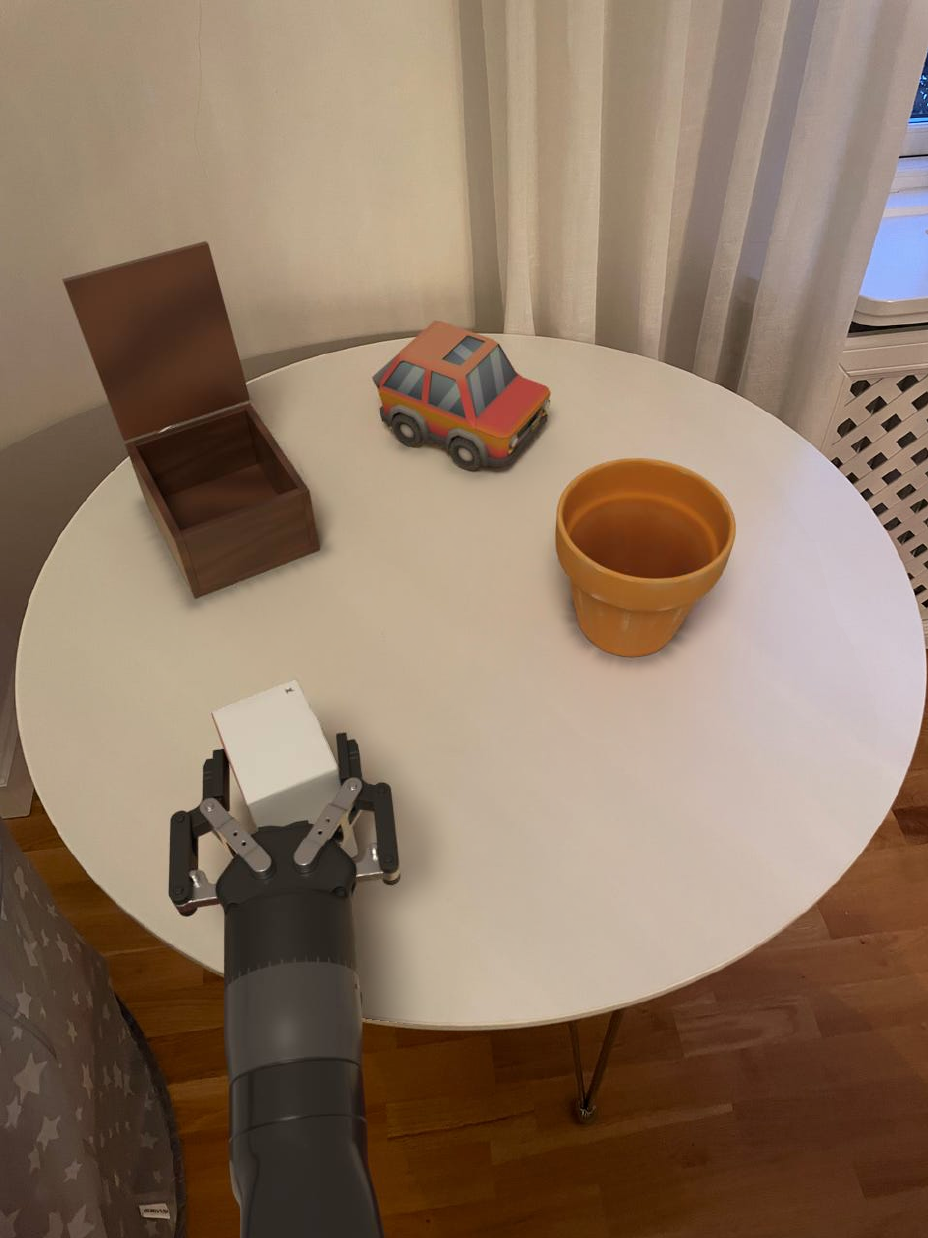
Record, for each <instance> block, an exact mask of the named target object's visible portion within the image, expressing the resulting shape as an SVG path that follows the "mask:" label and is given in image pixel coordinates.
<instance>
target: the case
mask: <svg viewBox="0 0 928 1238" xmlns="http://www.w3.org/2000/svg"><path fill="white" fill-rule="evenodd" d="M124 446H125V449H126V451H127V454H128V457H129V459H130V462H131V465H132V468H133V471H134V473H135V476H136V479H137V482H138V485H139V487H140V490H141V493H142V496H143V498H144V501H145V504H146V506H147V508H148V510H149V512H150V514H151V515H152V518H153V520H154V522H155V524H156V526H157V527H158V529H159V532H160V534H161V535H162V537H163V540H164V541H165V544H166V545H167V548H168V550H169V552H170V554H171V555H172V557H173V559H174V561H175V563H176V565H177V567H178V569H179V571H180V573H181V574H182V577H183V579H184V581H185V583H186V585H187V587H188V589H189V591H190V593H191V595H192V597H193V598H194V599H198V598H201V597H203V596H206V595H209V594H211V593H213V592H216V591H219V590H221V589H223V588H226V587H229V586H232V585H234V584H237V583H239V582H241V581H244V580H246V579H250V578H252V577H254V576H257V575H259V574H261V573H265V572H267V571H270V570H273V569H275V568H277V567H280V566H282V565H285V564H289V563H291V562H292V561H296V560H298V559H301V558H303V557H305V556H308V555H310V554H313V553H317V552H319V551H320V550H321V548H320V543H319V538H318V537H319V536H318V530H317V525H316V520H315V513H314V509H313V508H314V507H313V502H312V498H311V491H310V489H309V488H308V486H307V484H306V482H304V479H302V477H301V475H300V474H299V473H298V471H297V470H296V469H295V466H294V465H293V464H292V462H291V460H290V459H289V458H288V456H287V455H286V454H285V452H284V450H283V449H282V447H281V446H280V444H279V443H278V442H277V440H276V439H275V437H274V436H273V434H272V432H270V430H269V428H268V427H267V426H266V423H265V422H264V421H263V420H262V417H261V416H260V415H259V413H258V412H257V411H256V409H255V408H254V406H253V404H252V403H251V402H247V403H245V404H242V405H238V406H235V407H233V408H229V409H227V410H224V411H221V412H218V413H214V414H211V415H209V416H208V415H207V416H206V417H202V418H199V419H195V420H193V421H190V422H187V423H184V424H181V425H178V426H175V427H171V428H168V429H165V430H163V431H159V432H157V433H153V434H151V435H147V436H144V437H141V438H138V439H135V440H132V441H128V442H125V443H124Z"/></svg>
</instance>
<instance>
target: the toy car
mask: <svg viewBox="0 0 928 1238" xmlns="http://www.w3.org/2000/svg"><path fill="white" fill-rule="evenodd" d="M371 379H372V382H373V383H374V385H375V386H376V388H377V392H378V396H379V399H380V402H381V406H380V407H379V417H380V418H381V422H383V423H384V424H386V427H388V428H391V429H392V433H393V434H394V437H396V439H398V441H399V442H400V443H402V444H404V445H405V446H407V447H412V448H415V447H418V446H419V445H420V444H421V443H422V442H424V443H429V442H431V443H433V444H436V445H438V446H441V447H443V450H445V451H449V454H450V457H451V459H452V460H453V462H454V463H455V464H456V465H457V466H458V467H459V468H461V469H463V470H466V471H476V470H478V469H479V467H480V466H483V467H488V466H490V467H493V468H501V467H507V466H509V465H510V464H511V463H512V462H513V461H514V460H515V458H516V457H518V456H519V454H520V453H521V452H522V451H523V450H524V449H525V448H526V446H527V445H528V444H529V443H530V442H531V441H532V440H533V438H534V437H536V435H537V434H538V433H539V431H541V429H542V428H543V427H544V426H545V425H546V424H547V422H548V413H547V410H548V409H549V407H550V405H551V400H550V397H551V393H552V392H551V390H550V388H549V387H548V386H547V385H545V384H542V383H540V382H537V381H533V380H531V379H528V378H526V377H523V376H522V375H521V374H519V372H517V371H516V369H515V367H514V366H513V365H512V363H511V361H510V360H509V358H508V357H507V355H506V352H505V351H504V349H503V348H502V346H501V345H500V343H499V342H498V341H496V340H495V339H493V338H492V337H491V338H490V337H487V336H485V335H482V334H479V333H476V332H473V331H471V330H468V329H466V328H462V327H459V326H457V325H454V324H450V323H449V322H445V321H442V320H433V321H432V322H431V323H430V324H429V325H428V326H427V327H426V328H424V330H422V331H421V332H420V333H419V334H418V335H417V336H416V337H415V338H413V339H412V340H411V341H410V342H409V343H408V344H407V345H406V346H404V347H403V348H402V349H401V350H400V351H399V352H398V353H397V354H396V355H395V356H394V357H393V358H391V359H390V360H389V361H388V362H387V363H386V364H385V365H384V366H383V367H381V368H380V369H379V370H378V371H377V372H376V373H375V374H374V375H372V376H371Z"/></svg>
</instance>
